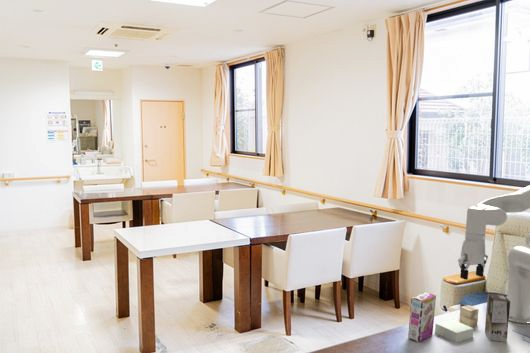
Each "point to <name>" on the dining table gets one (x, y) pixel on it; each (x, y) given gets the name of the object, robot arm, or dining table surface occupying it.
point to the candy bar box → (421, 316)
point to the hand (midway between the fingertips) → (471, 277)
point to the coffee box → (497, 317)
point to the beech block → (468, 315)
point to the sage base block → (454, 330)
